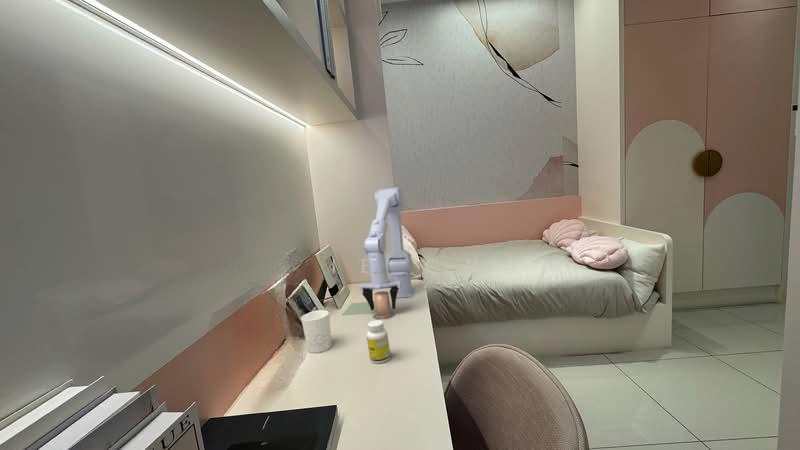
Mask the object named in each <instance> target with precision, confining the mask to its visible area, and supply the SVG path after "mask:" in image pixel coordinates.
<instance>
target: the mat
mask: <svg viewBox="0 0 800 450" xmlns="http://www.w3.org/2000/svg"><path fill="white" fill-rule="evenodd" d="M373 302H374V310H372V311H371V308H370V306H369V304H368V302H367V301H366V302H364V301H363V302H352V303H350V304H349V306H348V307H347V308H346V309H345V311H343V312H342V316H350V315H363V314H364V315H366V314H374V313H375V312H376V304H375V301H373Z"/></svg>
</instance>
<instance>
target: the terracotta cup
mask: <svg viewBox="0 0 800 450" xmlns="http://www.w3.org/2000/svg"><path fill="white" fill-rule="evenodd" d="M389 294H390V292H389V291H387V290H382V291H377V292H375V293H374V295H373V298H374V302H375V304H376V310H375V312H376V314H377V317H378V318H387V317H390V316H391V315H392V314H391V312H392V307H391V302H390V296H389Z"/></svg>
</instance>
